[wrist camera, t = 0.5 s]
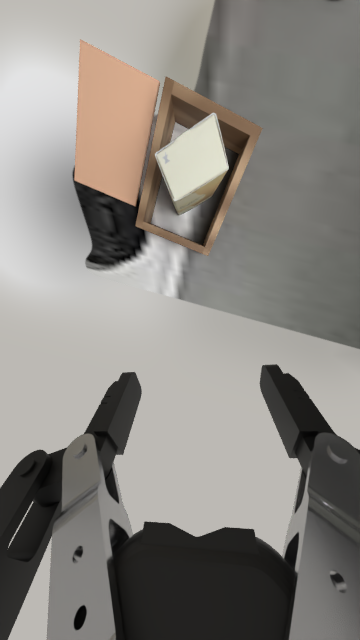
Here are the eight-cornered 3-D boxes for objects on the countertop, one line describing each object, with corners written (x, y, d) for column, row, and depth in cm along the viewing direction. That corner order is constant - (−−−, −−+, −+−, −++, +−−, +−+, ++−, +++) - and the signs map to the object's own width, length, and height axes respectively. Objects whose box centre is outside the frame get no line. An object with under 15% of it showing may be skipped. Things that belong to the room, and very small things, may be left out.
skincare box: (178, 216, 28) (171, 205, 17) (167, 187, 26) (150, 154, 15) (214, 196, 26) (231, 169, 15) (204, 164, 24) (215, 108, 14)
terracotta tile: (82, 43, 20) (80, 39, 19) (159, 84, 21) (159, 81, 21) (76, 181, 26) (74, 180, 26) (135, 206, 27) (135, 206, 27)
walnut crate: (170, 108, 22) (165, 76, 18) (248, 148, 23) (262, 128, 19) (143, 227, 29) (135, 226, 24) (205, 252, 30) (208, 256, 26)
